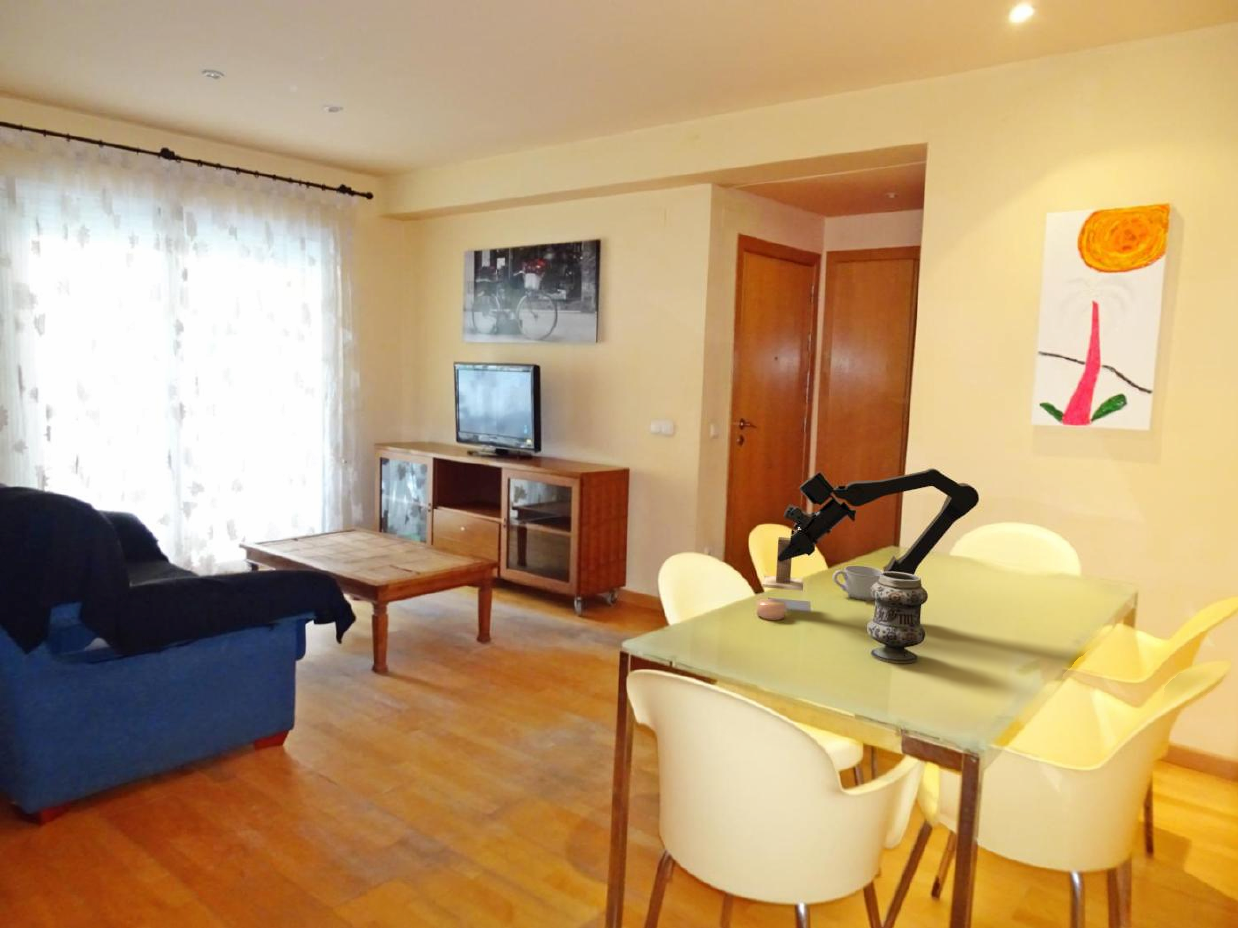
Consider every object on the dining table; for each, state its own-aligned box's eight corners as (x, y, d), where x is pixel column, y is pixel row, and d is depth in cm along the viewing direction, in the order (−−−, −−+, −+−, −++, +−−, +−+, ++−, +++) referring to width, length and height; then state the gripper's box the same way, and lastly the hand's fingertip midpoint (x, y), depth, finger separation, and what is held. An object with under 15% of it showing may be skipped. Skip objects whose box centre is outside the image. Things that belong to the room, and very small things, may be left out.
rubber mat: (809, 602, 233) (809, 601, 233) (810, 613, 222) (810, 612, 222) (767, 599, 235) (767, 597, 235) (766, 609, 224) (766, 608, 224)
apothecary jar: (928, 654, 192) (934, 574, 190) (916, 669, 182) (923, 585, 180) (873, 644, 198) (878, 566, 196) (858, 658, 188) (864, 576, 186)
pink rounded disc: (789, 622, 213) (790, 606, 213) (762, 622, 212) (763, 606, 211) (779, 614, 220) (779, 598, 220) (752, 614, 219) (753, 599, 218)
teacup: (878, 594, 245) (880, 566, 244) (886, 604, 234) (888, 575, 234) (828, 591, 246) (830, 563, 246) (833, 600, 236) (835, 571, 235)
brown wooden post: (803, 581, 226) (805, 536, 225) (802, 590, 217) (805, 543, 216) (764, 578, 229) (766, 533, 227) (762, 587, 219) (764, 540, 218)
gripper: (804, 490, 228) (759, 528, 232) (803, 499, 210) (755, 541, 214) (833, 522, 228) (788, 560, 231) (835, 534, 209) (785, 575, 213)
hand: (778, 558), depth 222 cm, fingers closed on brown wooden post, 3 cm apart
